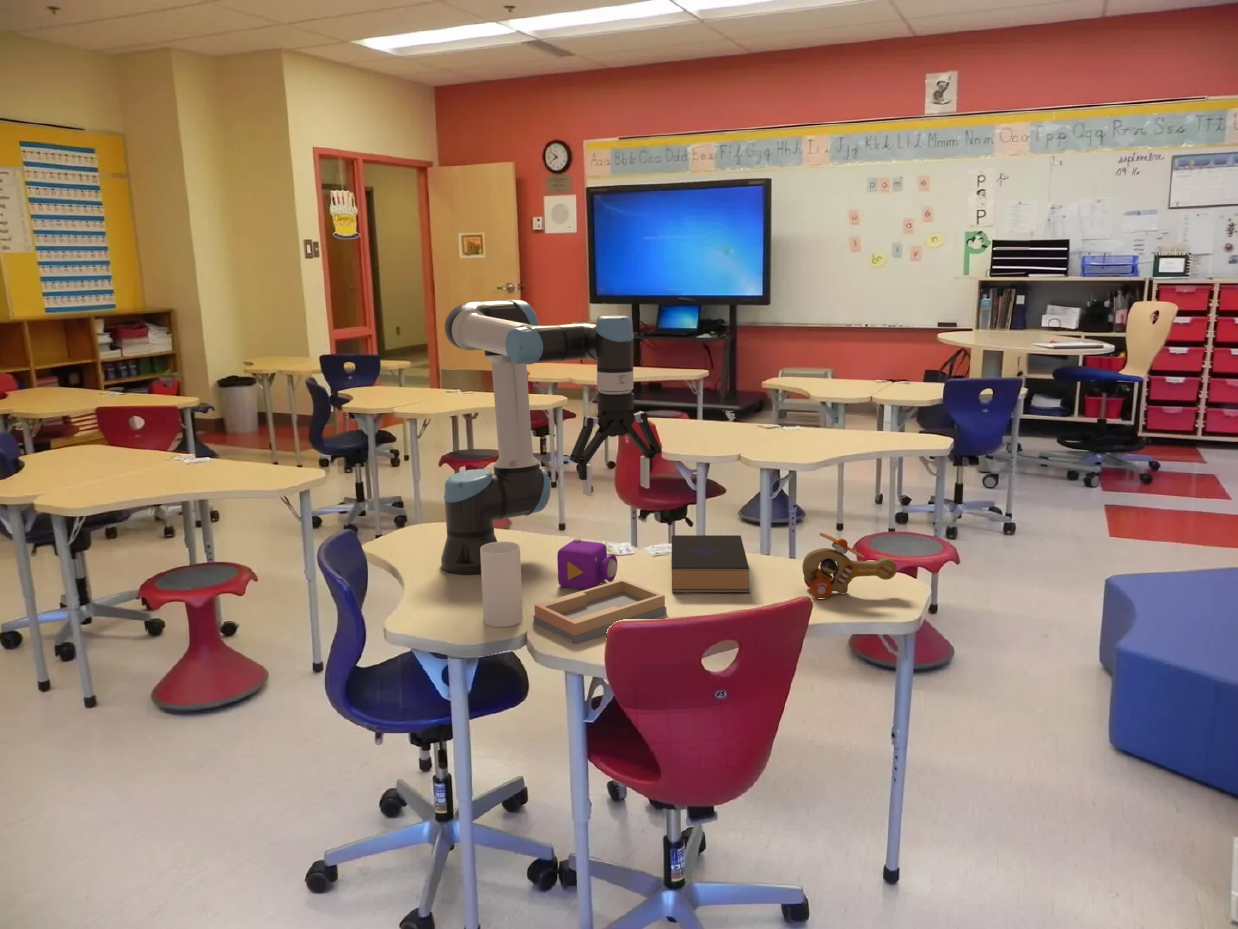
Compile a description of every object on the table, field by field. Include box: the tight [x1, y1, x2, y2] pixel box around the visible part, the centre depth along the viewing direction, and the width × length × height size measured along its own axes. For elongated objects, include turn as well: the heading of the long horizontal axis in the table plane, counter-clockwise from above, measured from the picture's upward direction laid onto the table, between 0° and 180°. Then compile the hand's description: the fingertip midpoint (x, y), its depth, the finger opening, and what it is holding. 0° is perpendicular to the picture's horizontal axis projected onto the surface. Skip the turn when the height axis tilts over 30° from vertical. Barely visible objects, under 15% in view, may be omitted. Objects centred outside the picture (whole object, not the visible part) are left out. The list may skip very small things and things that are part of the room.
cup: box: [480, 541, 524, 628], centre depth 196 cm, size 8×8×16 cm
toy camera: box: [556, 538, 618, 591], centre depth 217 cm, size 11×14×10 cm
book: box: [671, 534, 750, 593], centre depth 223 cm, size 17×25×7 cm
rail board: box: [532, 578, 667, 644], centre depth 198 cm, size 15×24×4 cm, turn 130°
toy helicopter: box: [801, 532, 898, 600], centre depth 209 cm, size 8×21×14 cm, turn 89°
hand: (616, 490), depth 198 cm, fingers open, 13 cm apart
